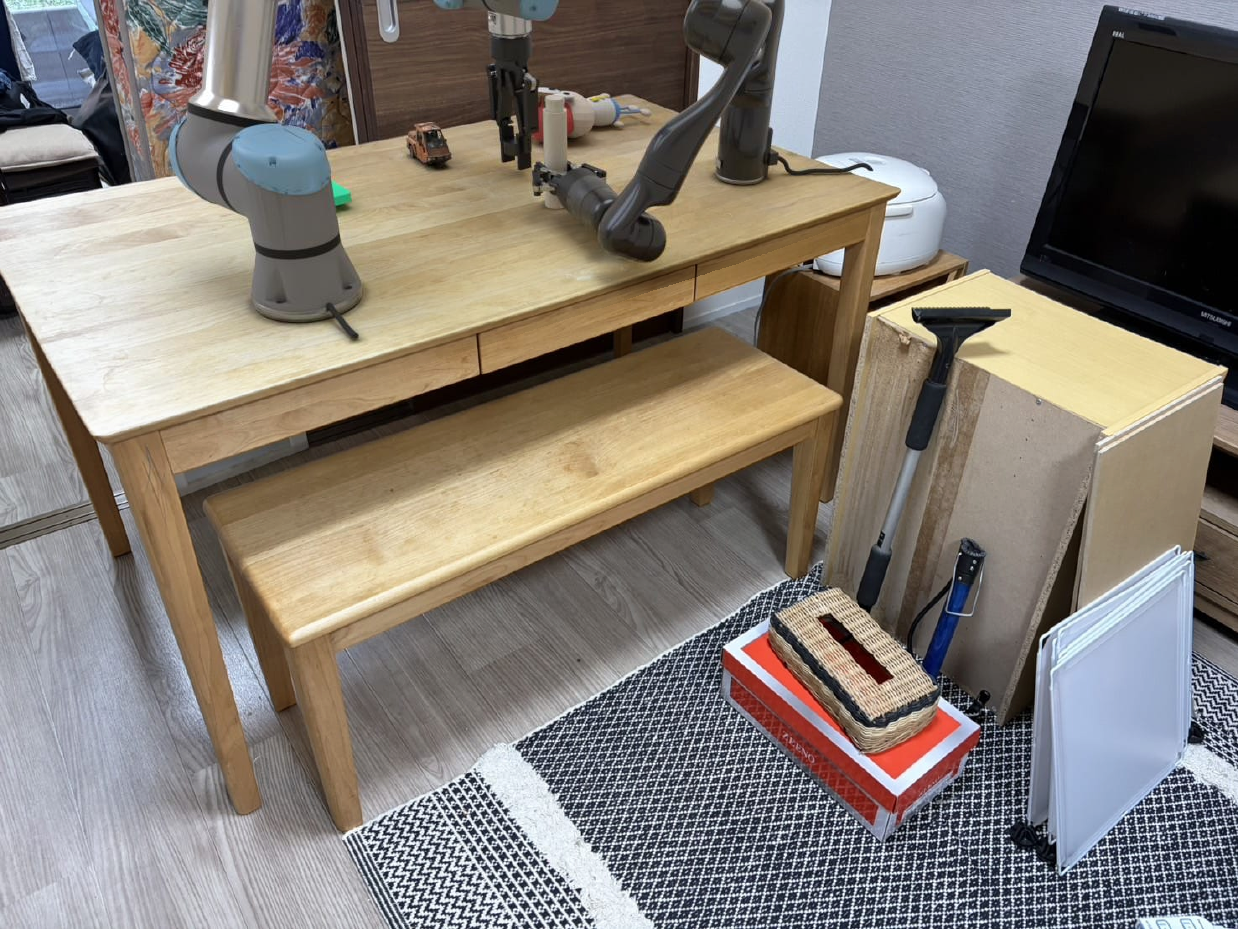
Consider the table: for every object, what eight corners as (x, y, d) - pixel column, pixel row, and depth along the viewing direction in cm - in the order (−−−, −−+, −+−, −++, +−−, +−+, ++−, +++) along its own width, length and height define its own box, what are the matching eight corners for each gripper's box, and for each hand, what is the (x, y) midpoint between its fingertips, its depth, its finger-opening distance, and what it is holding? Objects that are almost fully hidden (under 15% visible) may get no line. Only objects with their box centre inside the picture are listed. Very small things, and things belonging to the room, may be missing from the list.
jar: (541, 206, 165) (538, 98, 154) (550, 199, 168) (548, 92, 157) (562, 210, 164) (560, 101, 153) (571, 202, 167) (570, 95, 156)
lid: (503, 156, 174) (502, 143, 172) (505, 147, 177) (504, 135, 176) (527, 156, 174) (527, 144, 172) (529, 148, 177) (528, 135, 176)
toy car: (429, 148, 188) (425, 113, 184) (459, 164, 181) (457, 129, 177) (400, 154, 185) (396, 118, 181) (431, 171, 178) (427, 134, 173)
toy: (670, 94, 197) (547, 94, 182) (666, 143, 201) (545, 148, 186) (623, 81, 210) (504, 81, 195) (620, 128, 215) (504, 131, 200)
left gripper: (464, 27, 166) (474, 156, 180) (522, 46, 156) (528, 182, 170) (498, 21, 170) (505, 148, 184) (557, 40, 160) (560, 173, 174)
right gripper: (628, 170, 153) (586, 139, 165) (547, 181, 148) (510, 148, 160) (626, 214, 157) (586, 180, 169) (548, 226, 152) (512, 191, 164)
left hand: (516, 164), depth 177 cm, fingers closed on lid, 5 cm apart
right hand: (549, 165), depth 165 cm, fingers closed on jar, 4 cm apart
